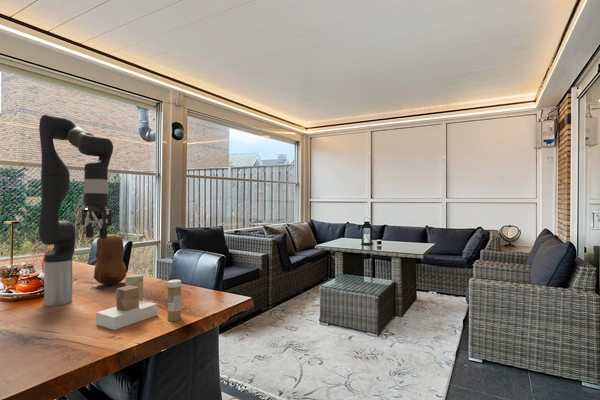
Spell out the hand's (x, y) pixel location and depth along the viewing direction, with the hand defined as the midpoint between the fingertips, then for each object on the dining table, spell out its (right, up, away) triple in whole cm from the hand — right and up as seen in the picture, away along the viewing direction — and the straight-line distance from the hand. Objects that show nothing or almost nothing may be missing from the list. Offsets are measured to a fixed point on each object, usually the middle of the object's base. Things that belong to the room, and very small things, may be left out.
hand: (96, 238), depth 118 cm
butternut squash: (-21, -29, +46) cm, 58 cm away
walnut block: (+12, -24, -2) cm, 27 cm away
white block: (+12, -28, -2) cm, 31 cm away
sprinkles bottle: (+29, -28, -2) cm, 40 cm away
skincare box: (+8, -28, +12) cm, 32 cm away
